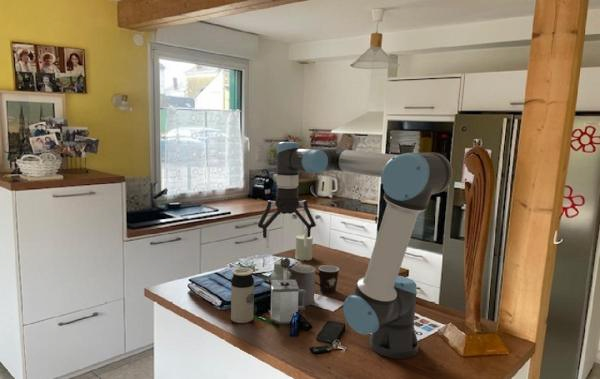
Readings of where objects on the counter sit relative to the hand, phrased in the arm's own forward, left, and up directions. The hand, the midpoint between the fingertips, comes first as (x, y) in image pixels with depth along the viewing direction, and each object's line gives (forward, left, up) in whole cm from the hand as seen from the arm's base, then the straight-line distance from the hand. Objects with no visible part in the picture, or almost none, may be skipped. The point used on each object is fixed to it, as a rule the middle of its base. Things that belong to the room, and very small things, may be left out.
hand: (286, 246), depth 151 cm
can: (+71, -18, -27) cm, 78 cm away
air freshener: (+34, -2, -27) cm, 44 cm away
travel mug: (+1, +15, -27) cm, 31 cm away
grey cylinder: (+15, -9, -27) cm, 32 cm away
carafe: (0, -1, -27) cm, 27 cm away
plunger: (0, 0, -22) cm, 22 cm away
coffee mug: (+25, -20, -27) cm, 42 cm away
